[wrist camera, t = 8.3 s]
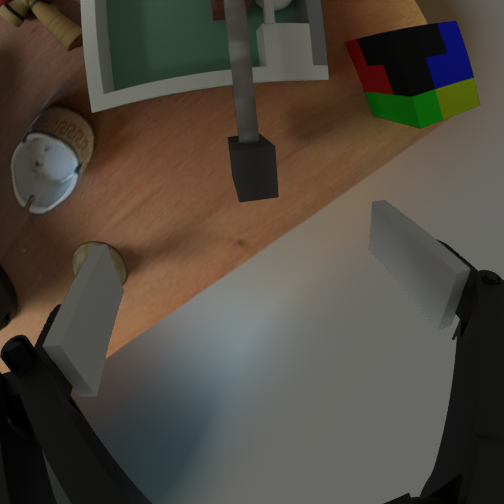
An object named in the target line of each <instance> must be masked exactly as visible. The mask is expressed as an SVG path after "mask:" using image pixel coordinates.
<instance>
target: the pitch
mask: <svg viewBox="0 0 504 504" xmlns="http://www.w3.org/2000/svg"><path fill="white" fill-rule="evenodd" d="M262 7H263V8H262ZM262 7H260V6H259V5H258V4H257V3H256V2H255V0H251V2H250V4H249V6H248V8H247V10H246V19H247V27H248V37H249V46H250V55H251V65H252V74H253V83H267V82H285V81H316V80H329V75H328V63H327V51H326V41H325V31H324V23H323V14H322V6H321V0H292V1H291V3H290V4H289V5H288V6H287V7H286V8H284V9H281V10H277V11H274V8H273V0H262ZM81 22H82V37H83V49H84V59H85V68H86V76H87V84H88V91H89V98H90V104H91V110H92V113H94V112H98V111H103V110H107V109H111V108H115V107H119V106H123V105H126V104H131V103H135V102H139V101H143V100H148V99H152V98H157V97H162V96H167V95H172V94H178V93H183V92H189V91H195V90H202V89H209V88H216V87H224V86H233V82H232V73H231V64H230V55H229V45H228V36H227V27H226V20H218V21H213V17H212V8H211V0H81Z"/></svg>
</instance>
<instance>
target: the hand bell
mask: <svg viewBox="0 0 504 504" xmlns="http://www.w3.org/2000/svg"><path fill="white" fill-rule="evenodd" d="M99 245H104V244H103V243H100V242H88V243H85V244H83V245H81V246H79V247H78V248H77V250H76V251H75V253H74V255H73V258H72V268H73V272H74V274H75V277H74V280H75V278H76V276H77V274H78V272H79V271H80V269H81V267H82V265H83V263H84V262H85V260H86V258H87V256H88V255H89V253H90V251H91V249H92V248H93V247H94V246H99ZM107 246H108V245H107ZM108 249H109V252H110V255H111V258H112V260H113V263H114V266H115V269H116V271H117V274H118V277H119V279H120V282H121V284H122V285H123V284H124V282H125V280H126V266H125V263H124V261H123V259H122V257H121V256H120V255H119V254H118V252H116V251H115V250H114V249H113V248H112V247H110V246H108ZM74 280H73V282H74ZM72 284H73V283H72Z"/></svg>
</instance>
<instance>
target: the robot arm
mask: <svg viewBox="0 0 504 504" xmlns="http://www.w3.org/2000/svg"><path fill="white" fill-rule="evenodd" d="M369 250H370V251H371V252H372V254H373V255H374V256H375V257H376V258H377V259H378V260H379V261H380V262H381V264H382V265H383V266H384V267H385V268H386V269H387V270H388V271H389V273H390V274H391V275H392V276H393V277H394V278H395V280H396V281H397V282H398V283H399V284H400V285H401V286H402V288H403V289H404V290H405V291H406V292H407V294H408V295H409V296H410V297H411V298H412V300H413V301H414V302H415V303H416V304H417V306H418V307H419V308H420V309H421V311H423V313H424V314H425V315H426V317H427V318H428V319H429V320H430V322H431V323H432V324H433V325H434V327H435V328H436V329H437V330H440V329H443V328H445V327H448V326H451V324H452V321H453V319H454V316H455V314H456V315H457V316H458V317H459V318H460V321H459V323H458V326H457V328H456V331H455V333H454V335H453V338H452V340H454V339H455V337H456V336H457V343H456V355H455V364H454V373H453V381H452V388H451V394H450V401H449V406H448V411H447V417H446V422H445V426H444V431H443V435H442V440H441V444H440V448H439V452H438V455H437V459H436V463H435V466H434V469H433V472H432V474H431V476H430V477H429V479H428V480H427V482H426V484H425V485H424V488H423V490H422V492H421V494H420V497H412V498H411V497H410V494H409V493H407V494H405V495H403V496H401V497H398V498H396V499H394V500H391V501H389V502H387V503H384V504H504V280H502V279H501V277H500V276H498V275H497V274H496V273H494V272H492V271H489V270H480V271H478V270H477V269H475V268H474V267H473V266H472V265H471V264H470V263H469V262H467V261H466V260H465V259H464V258H463V257H462V256H460V255H459V254H458V253H457V252H456V251H454V250H453V249H452V248H451V247H450V246H449V245H447V244H445V243H443V242H441V241H439V240H436V239H435V238H434V237H432V236H431V235H430V234H429V233H427V232H426V231H425V230H424V229H422V228H421V227H420V226H418V225H417V224H416V223H415V222H413V221H412V220H411V219H409V218H408V217H407V216H405V215H404V214H403V213H401V212H400V211H399V210H397V209H396V208H395V207H393V206H392V205H391V204H389V203H388V202H386V201H385V200H384V201H375V202H372V214H371V228H370V239H369ZM123 292H124V290H123V287H122V284H121V282H120V279H119V277H118V274H117V271H116V269H115V266H114V263H113V260H112V258H111V255H110V252H109V249H108V246H107V244H104V245H99V246H94V247H93V248H92V249H91V251H90V253H89V255H88V256H87V258H86V260H85V262H84V263H83V265H82V267H81V269H80V271H79V272H78V274H77V276H76V278H75V280H74V282H73V284H72V285H71V287H70V289H69V291H68V293H67V295H66V297H65V299H64V301H63V303H62V304H59V305H57V306H56V307H55V308H54V310H53V311H52V312H51V313H50V315H49V317H48V319H47V321H46V323H45V325H44V327H43V330H42V331H41V333H40V336H39V338H38V340H37V342H36V344H35V347H33V345H32V344H31V342H30V341H29V339H28V338H27V337H26V336H24V335H17V336H15V337H13V338H11V339H10V340H9V341H7V342H6V344H5V345H4V346H3V348H2V350H1V355H0V357H1V359H2V360H3V361H4V363H5V364H6V365H7V367H8V368H9V369H10V370H11V371H10V372H7V373H4V374H1V372H0V504H57V503H56V500H55V497H54V493H53V490H52V487H51V483H50V480H49V476H48V472H47V468H46V464H45V460H44V456H43V452H44V454H45V456H46V458H47V460H48V462H49V464H50V466H51V468H52V470H53V472H54V474H55V475H56V477H57V479H58V481H59V483H60V485H61V486H62V488H63V490H64V491H65V493H66V495H67V496H68V498H69V500H70V501H71V503H72V504H152V503H151V502H150V501H149V500H148V499H147V498H146V497H145V495H144V494H143V493H142V492H141V491H140V490H139V489H138V488H137V486H136V485H135V484H134V483H133V482H132V481H131V479H130V478H129V477H128V476H127V475H126V473H125V472H124V471H123V470H122V468H121V467H120V466H119V465H118V463H117V462H116V461H115V460H114V458H113V457H112V456H111V454H110V453H109V452H108V450H107V449H106V447H105V446H104V445H103V443H102V442H101V441H100V439H99V438H98V436H97V435H96V434H95V432H94V430H93V429H92V427H91V426H90V424H89V423H88V421H87V420H86V418H85V417H84V415H83V414H82V412H81V410H80V409H79V407H78V405H77V404H76V402H75V401H74V399H73V398H72V397H71V396H70V395H71V391H72V387H73V389H74V390H75V391H76V392H77V394H78V395H79V396H80V397H96V396H97V392H98V388H99V383H100V379H101V373H102V370H103V365H104V361H105V357H106V353H107V349H108V345H109V341H110V337H111V333H112V330H113V326H114V322H115V319H116V315H117V312H118V308H119V305H120V302H121V298H122V295H123ZM16 311H17V298H16V294H15V291H14V288H13V286H12V284H11V282H10V280H9V278H8V276H7V275H6V273H5V272H4V271H3V269H2V268H1V267H0V331H1V330H2V329H4V328H5V327H6V326H7V325H8V324H9V323H10V322H11V320H12V319H13V317H14V315H15V313H16ZM42 450H43V451H42Z"/></svg>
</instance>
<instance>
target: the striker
mask: <svg viewBox="0 0 504 504" xmlns="http://www.w3.org/2000/svg"><path fill="white" fill-rule="evenodd" d="M250 2H251V0H211V8H212V17H213V21H218V20H226V27H227V36H228V45H229V55H230V64H231V73H232V82H233V91H234V100H235V109H236V118H237V127H238V136H233V137H228V144H229V152H230V160H231V169H232V177H233V181H234V184H235V188H236V192H237V195H238V199H239V202H246V201H254V200H261V199H269V198H277V197H279V196H278V181H277V167H276V153H275V146H274V145H273V144H272V143H271V142H269V141H268V140H267V139H266V138H265V137H263V136H262V135H261V134H258V125H257V114H256V104H255V94H254V84H253V74H252V65H251V55H250V46H249V37H248V27H247V19H246V10H247V8H248V6H249V4H250Z"/></svg>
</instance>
